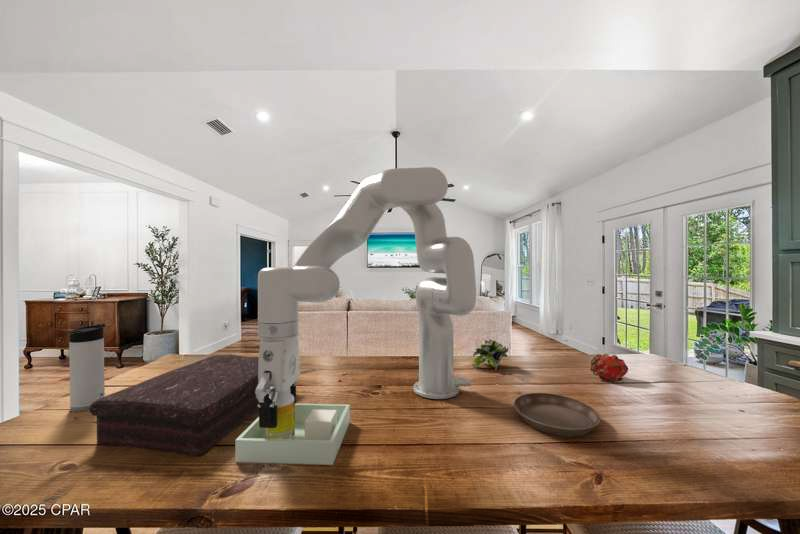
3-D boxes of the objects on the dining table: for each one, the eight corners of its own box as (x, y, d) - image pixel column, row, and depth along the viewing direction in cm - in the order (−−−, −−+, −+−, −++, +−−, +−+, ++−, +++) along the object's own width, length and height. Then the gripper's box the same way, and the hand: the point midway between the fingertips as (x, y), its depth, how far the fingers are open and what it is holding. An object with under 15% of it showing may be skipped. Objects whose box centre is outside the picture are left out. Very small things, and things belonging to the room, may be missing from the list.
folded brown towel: (201, 462, 60) (200, 407, 60) (86, 448, 65) (85, 397, 65) (293, 390, 94) (293, 355, 94) (213, 384, 98) (213, 351, 98)
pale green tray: (349, 424, 74) (349, 404, 74) (332, 467, 58) (332, 442, 58) (272, 422, 74) (272, 402, 74) (235, 465, 59) (235, 440, 59)
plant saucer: (615, 446, 66) (615, 431, 66) (521, 437, 69) (521, 423, 69) (583, 407, 83) (583, 395, 83) (509, 402, 86) (509, 390, 86)
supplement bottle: (299, 439, 66) (298, 388, 66) (270, 449, 63) (270, 395, 63) (288, 428, 71) (288, 380, 71) (261, 437, 67) (261, 387, 67)
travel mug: (111, 403, 85) (110, 324, 84) (77, 414, 79) (76, 329, 78) (98, 399, 87) (97, 322, 87) (65, 409, 81) (63, 327, 81)
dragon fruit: (586, 383, 103) (623, 388, 104) (603, 375, 96) (642, 380, 97) (580, 356, 108) (615, 361, 109) (596, 347, 101) (633, 352, 102)
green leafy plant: (489, 379, 117) (506, 350, 119) (502, 385, 106) (520, 352, 109) (463, 361, 117) (480, 332, 120) (472, 365, 107) (491, 333, 109)
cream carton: (336, 434, 68) (336, 409, 68) (330, 447, 63) (330, 421, 63) (312, 433, 69) (312, 409, 69) (304, 447, 64) (304, 421, 64)
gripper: (279, 340, 57) (280, 438, 58) (310, 321, 75) (311, 397, 75) (236, 339, 58) (237, 437, 58) (277, 321, 75) (278, 396, 75)
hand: (279, 414), depth 66 cm, fingers open, 9 cm apart
